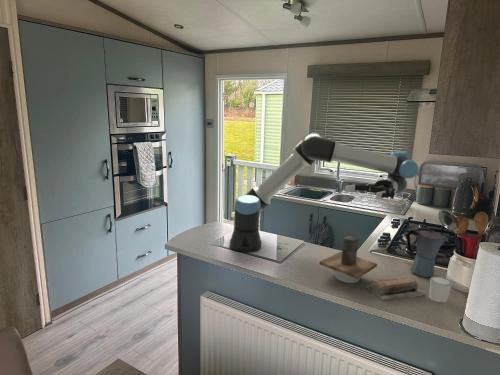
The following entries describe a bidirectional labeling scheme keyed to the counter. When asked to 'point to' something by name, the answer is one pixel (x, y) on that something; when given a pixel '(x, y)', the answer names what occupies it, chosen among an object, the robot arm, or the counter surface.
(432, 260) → the moka pot
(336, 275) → the ramekin
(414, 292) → the packaged product
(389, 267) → the counter surface
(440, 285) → the white cup
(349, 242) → the board with upright post
